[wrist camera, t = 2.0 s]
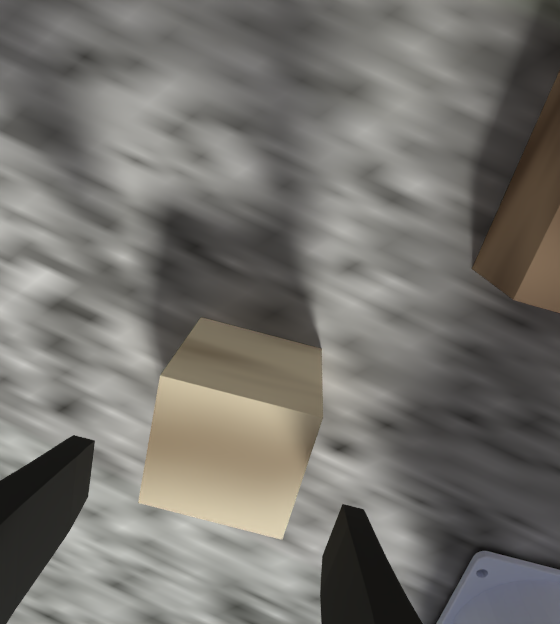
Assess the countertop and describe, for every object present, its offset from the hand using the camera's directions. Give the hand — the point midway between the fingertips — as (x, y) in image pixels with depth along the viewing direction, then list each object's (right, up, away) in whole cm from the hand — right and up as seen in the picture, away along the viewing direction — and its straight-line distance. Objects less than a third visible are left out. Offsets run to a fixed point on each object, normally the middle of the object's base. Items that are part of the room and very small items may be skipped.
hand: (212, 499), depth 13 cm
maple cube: (+1, +2, +6) cm, 7 cm away
